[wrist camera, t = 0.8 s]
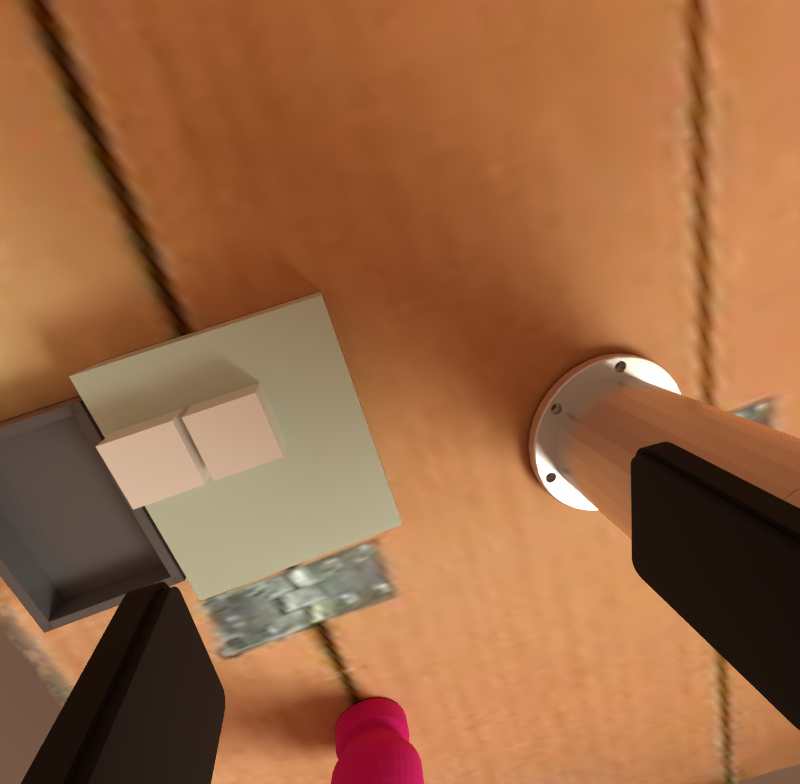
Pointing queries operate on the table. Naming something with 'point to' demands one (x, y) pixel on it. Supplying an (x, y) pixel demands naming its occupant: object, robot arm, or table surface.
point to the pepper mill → (375, 746)
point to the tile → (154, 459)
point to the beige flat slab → (270, 482)
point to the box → (70, 520)
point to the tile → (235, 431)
